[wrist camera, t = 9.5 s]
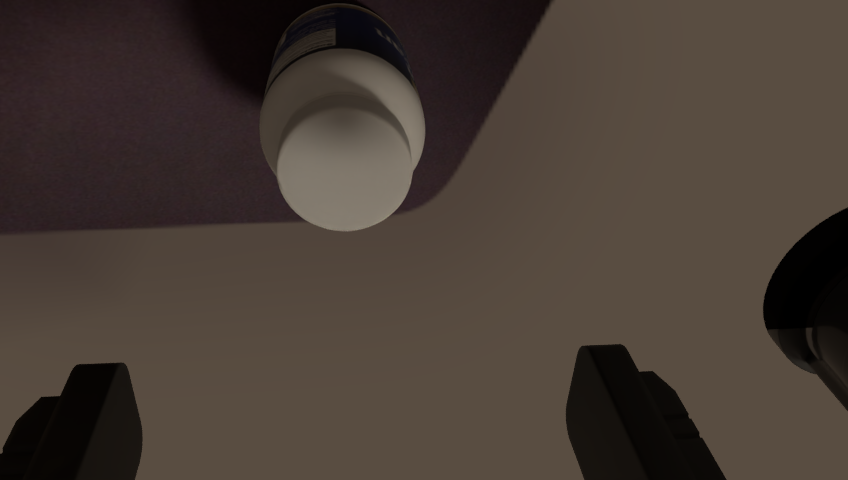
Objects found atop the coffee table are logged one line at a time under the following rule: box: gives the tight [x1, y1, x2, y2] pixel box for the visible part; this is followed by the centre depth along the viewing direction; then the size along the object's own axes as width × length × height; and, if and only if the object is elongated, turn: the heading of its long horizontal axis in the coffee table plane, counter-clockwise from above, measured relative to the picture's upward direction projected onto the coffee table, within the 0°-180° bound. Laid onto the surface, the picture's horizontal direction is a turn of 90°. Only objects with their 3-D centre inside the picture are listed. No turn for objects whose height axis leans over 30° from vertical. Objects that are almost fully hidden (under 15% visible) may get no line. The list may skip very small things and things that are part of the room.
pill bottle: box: [259, 3, 425, 231], centre depth 24 cm, size 5×5×10 cm
